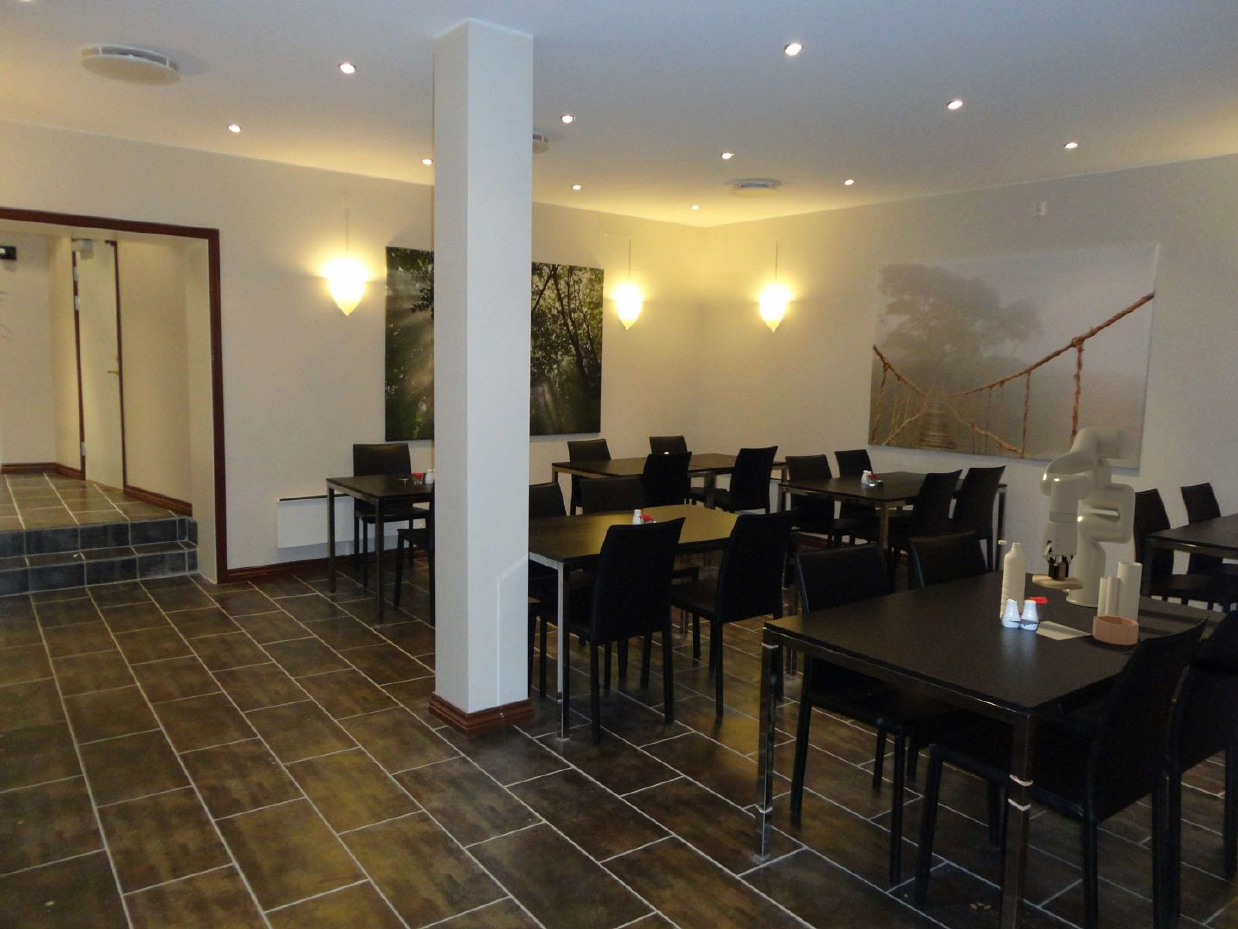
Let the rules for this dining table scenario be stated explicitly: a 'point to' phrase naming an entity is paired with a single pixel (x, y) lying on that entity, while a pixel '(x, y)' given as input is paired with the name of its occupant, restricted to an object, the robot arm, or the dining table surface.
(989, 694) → the dining table surface
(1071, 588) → the lid
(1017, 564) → the water bottle
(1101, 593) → the candle
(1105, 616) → the bowl
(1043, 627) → the mat
